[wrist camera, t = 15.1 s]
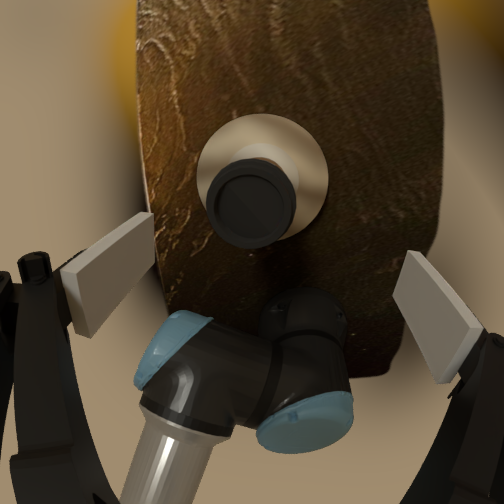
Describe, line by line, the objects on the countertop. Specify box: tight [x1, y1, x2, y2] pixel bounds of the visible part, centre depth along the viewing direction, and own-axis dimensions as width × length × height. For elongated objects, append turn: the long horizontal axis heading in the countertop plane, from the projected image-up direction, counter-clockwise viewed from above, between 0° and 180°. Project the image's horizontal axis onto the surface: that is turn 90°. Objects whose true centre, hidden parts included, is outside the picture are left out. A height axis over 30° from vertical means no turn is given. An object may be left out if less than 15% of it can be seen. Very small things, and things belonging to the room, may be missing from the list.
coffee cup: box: [206, 157, 297, 249], centre depth 32 cm, size 8×8×15 cm
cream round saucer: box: [197, 114, 328, 240], centre depth 39 cm, size 18×18×2 cm
